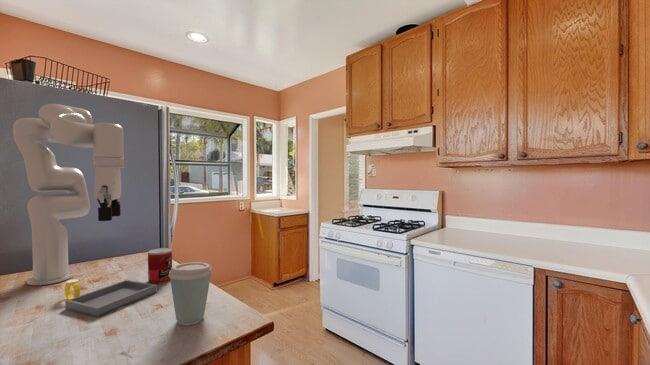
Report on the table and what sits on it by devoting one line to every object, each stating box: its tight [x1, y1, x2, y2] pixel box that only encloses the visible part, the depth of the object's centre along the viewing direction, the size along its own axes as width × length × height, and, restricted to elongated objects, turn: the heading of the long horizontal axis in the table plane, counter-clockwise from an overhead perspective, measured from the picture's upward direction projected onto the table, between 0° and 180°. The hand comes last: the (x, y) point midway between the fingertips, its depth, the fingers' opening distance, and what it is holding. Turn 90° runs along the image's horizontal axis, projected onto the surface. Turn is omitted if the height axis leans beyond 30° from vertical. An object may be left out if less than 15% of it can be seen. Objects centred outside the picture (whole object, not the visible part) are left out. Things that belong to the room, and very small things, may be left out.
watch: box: [64, 279, 81, 300], centre depth 90 cm, size 6×3×6 cm, turn 65°
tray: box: [64, 279, 158, 318], centre depth 90 cm, size 14×18×2 cm
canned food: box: [147, 247, 173, 284], centre depth 107 cm, size 8×8×11 cm
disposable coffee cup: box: [169, 261, 213, 326], centre depth 77 cm, size 11×11×15 cm
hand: (110, 218), depth 90 cm, fingers open, 9 cm apart
